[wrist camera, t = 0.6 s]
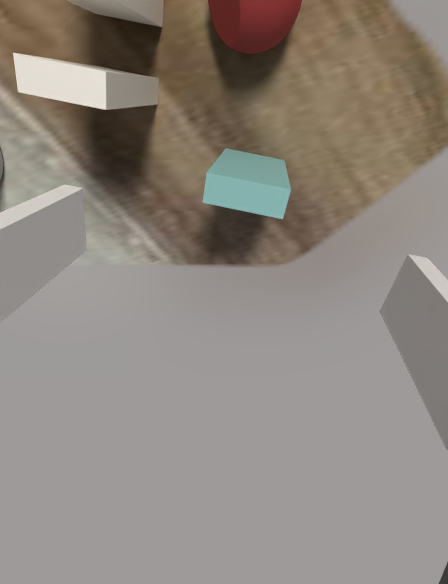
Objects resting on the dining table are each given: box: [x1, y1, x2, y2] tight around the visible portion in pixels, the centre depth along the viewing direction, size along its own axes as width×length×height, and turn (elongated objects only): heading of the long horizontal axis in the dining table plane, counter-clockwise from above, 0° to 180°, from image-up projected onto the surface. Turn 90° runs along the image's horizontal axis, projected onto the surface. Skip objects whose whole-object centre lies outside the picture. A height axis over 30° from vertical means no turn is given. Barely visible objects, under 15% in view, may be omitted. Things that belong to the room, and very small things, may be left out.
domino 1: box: [13, 53, 159, 110], centre depth 23 cm, size 2×5×10 cm, turn 80°
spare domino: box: [203, 148, 291, 219], centre depth 25 cm, size 2×5×10 cm, turn 80°
